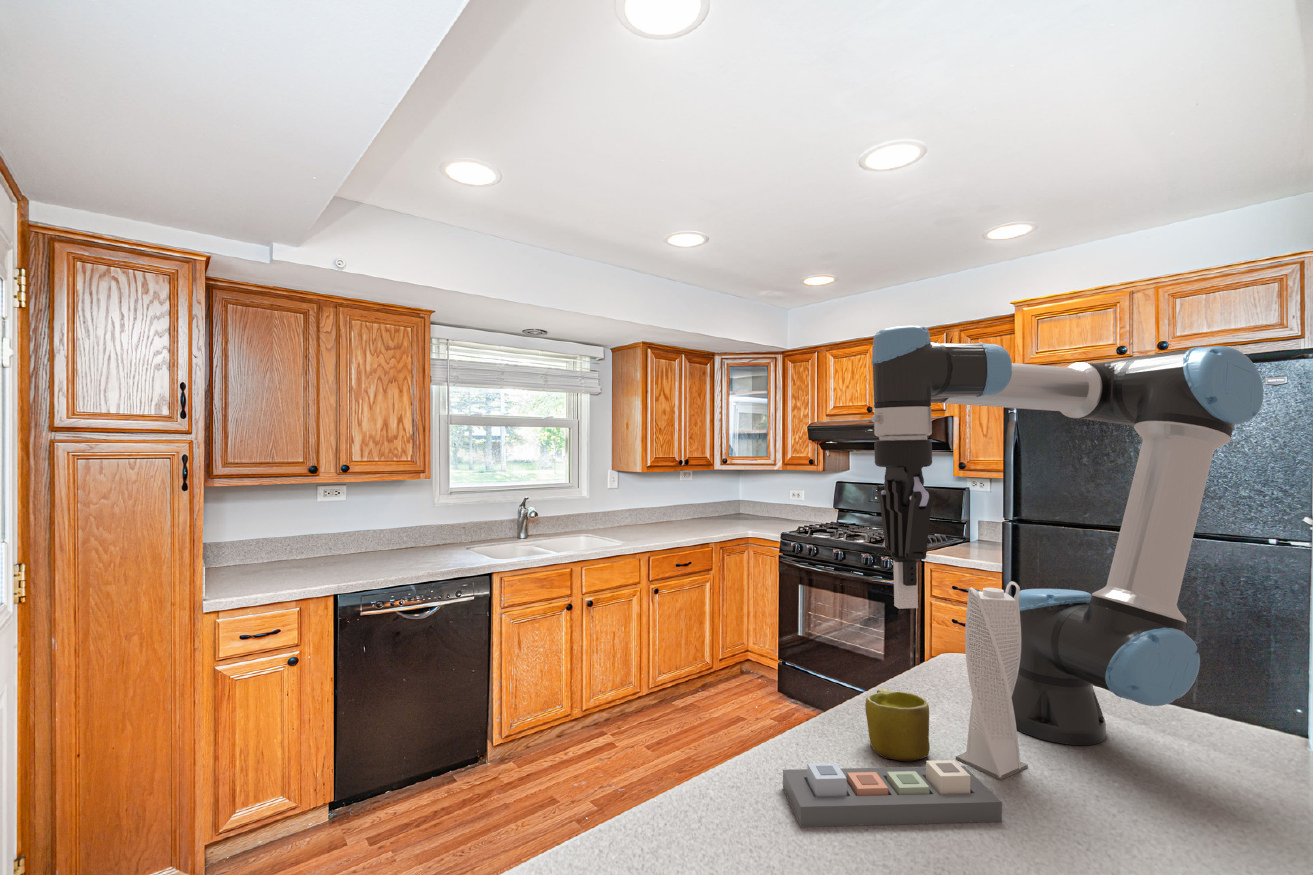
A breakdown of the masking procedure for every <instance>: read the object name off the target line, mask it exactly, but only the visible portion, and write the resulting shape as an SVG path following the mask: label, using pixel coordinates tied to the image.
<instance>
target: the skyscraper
mask: <svg viewBox="0 0 1313 875" xmlns="http://www.w3.org/2000/svg"><path fill="white" fill-rule="evenodd" d="M1011 586H1015V594H1016V595H1015V594H1014V596H1015V599H1014V596H1012V595H1010V594H1009V593H1010V589H1011ZM1020 591H1021V588H1020V586H1019V585H1018V583H1017V582H1015V581H1014V580H1013V581H1009V582H1008V583H1007V585H1006V588H1005V590H1004V589H1002V588H996V587H983V588H982V591H980V590H979V591H977V590H976V589H975V588H974V587H972V586H971V587H969V589H968V594H967V602H966V613H965V614H966V615H965V629H964V631H965V632H964V646H965V647H964V650H965V652H964V653H965V661H966V669H967V675H968V681H969V686H970V691H971V695H972V698H971V699H972V700H971V708H970V714H969V721H968V731H967V732H968V733H967V740H966V741H967V743H966V751H965V752H962V753H960V754H957V755H956V756H955V760H957V761H959V762H961V763H963V764H965V765H967V766H970V767H971V768H974V769H976V770H978V771H980V772H983V773H984V774H987V775H988V776H991V777H993V778H995V779H997V780H998V781H999V780H1000V781H1002V780H1004V779H1006V778H1008V777H1011V776H1012V775H1015V774H1017V773H1019V772H1021V771H1023V770H1025V769H1027V768H1029V766H1028V763H1026V762H1023V761H1021V756H1020V747H1019V740H1018V739H1019V738H1018V737H1019V736H1018V730H1017V729H1016V721H1015V715H1014V709H1013V703H1012V698H1011V697H1012V694H1013V691H1014V688H1015V684H1016V680H1017V676H1018V671H1019V665H1020V657H1021V622H1020V611H1019V592H1020Z"/></svg>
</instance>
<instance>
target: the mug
mask: <svg viewBox="0 0 1313 875" xmlns="http://www.w3.org/2000/svg"><path fill="white" fill-rule="evenodd" d="M864 705H865V716H866V723H867V729H868V730H867V731H868V736H869V741H870V746H871V748H872V749H873V750H874V751H875V753H876V754H877V755H879V756H880V757H882V758H885V759H886V760H894V761H895V760H896V761H899V762H905V761H906V762H907V761H908V762H913V761H916V760H917V761H918V760H923V759H924V758H927V757H928V756H929V754H930V749H931V748H930V739H929V737H930V705H929V702H928V701H927V700H926V699H925V698H924V697H921V696H919V695H918V694H915V693H910V692H905V691H904V692H903V691H891V690H890V689H888V688H879V689H877V690H876V692H874V693H870V694H868V695H867V696H866V699H865V704H864Z"/></svg>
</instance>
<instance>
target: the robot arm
mask: <svg viewBox="0 0 1313 875" xmlns="http://www.w3.org/2000/svg"><path fill="white" fill-rule="evenodd" d="M872 340H873V341H872V342H873V343H872V357H871V358H872V360H871V365H872V387H873V388H872V389H873V390H872V392H873V415H872V416H871V418H870V419H871V421H872V422H873V423H874V425H873V429H874V431H873V432H874V436H876V437H878V440H875V442H874V449H873V450H874V464H875V466H877V467H878V468H885V472H884V482H883V484H880V485H879V484H878V485H877V486H876V492H877V496H878V499H879V506H880V513H881V514H880V515H881V523H882V532H883V539H884V540H883V541H884V548H885V551H886V552H887V553H890V556H891V559H893V563H892V564H893V565H892V566H893V598H894V599H893V602H894V604H893V606H894V608H895V607H896V608H897V609H899V610H901V609H902V610H903V609H918V608H919V602H918V601H919V597H918V596H919V595H918V593H919V591H918V588H919V587H918V562H920V560H926V558H927V552H928V551H927V550H928V542H929V532H930V531H929V530H930V523H931V521H930V520H931V513H932V512H931V511H932V508H933V504H934V500H935V492H934V491H933V490H926V488H925V487H924V485H925V481H924V479H925V478H924V475H923V474H924V473H923V468H924V467H925V468H928V467H930V466H932V465H933V443H932V441H931V440H930V439H928V436H931V435H932V433H933V429H932V428H933V424H932V404H949V405H965V406H976V407H977V406H980V407H981V406H982V407H992V408H993V407H995V408H996V407H997V408H1007V409H1023V410H1024V409H1025V410H1035V411H1036V410H1039V411H1052V412H1053V411H1054V412H1060V413H1061V414H1062V415H1064V416H1065V417H1068V418H1071V419H1083V420H1090V421H1091V420H1092V421H1098V422H1106V423H1111V424H1112V423H1113V424H1118V425H1119V424H1120V425H1127V426H1133V429H1134V430H1135V432H1136V433H1137V434H1138V435H1139V437H1140V438H1142V439H1141V440H1142V442H1141V446H1140V450H1139V455H1138V458H1137V462H1136V467H1135V470H1134V474H1133V478H1132V481H1131V486H1130V491H1129V495H1128V498H1127V502H1126V507H1125V510H1124V515H1123V518H1122V523H1121V526H1120V530H1119V534H1118V538H1117V542H1116V547H1115V550H1114V555H1113V558H1112V563H1111V566H1110V571H1109V573H1108V574H1109V575H1108V577H1107V581H1106V582H1107V583H1106V585H1105V586H1104V587H1103V588H1100V589H1099V590H1096V591H1094V592H1092V593H1090V592H1087V591H1083V590H1078V589H1077V590H1075V589H1065V588H1064V589H1063V588H1062V589H1061V588H1029V589H1028V588H1027V589H1022V590H1021V589H1020V592H1019V611H1020V622H1021V657H1020V665H1019V671H1018V676H1017V680H1016V684H1015V688H1014V691H1013V694H1012V697H1011V698H1012V703H1013V709H1014V715H1015V721H1016V729H1017V731H1019V732H1021V733H1023V734H1025V735H1028V736H1031V737H1034V738H1037V739H1040V740H1042V741H1043V740H1044V741H1047V742H1052V743H1058V744H1064V745H1071V746H1072V745H1074V746H1092V745H1097V744H1099V743H1102V742H1103V741H1105V740H1106V739H1107V738H1106V737H1107V725H1106V720H1105V717H1104V715H1103V711H1102V708H1101V705H1100V702H1099V700H1098V698H1097V695H1096V692H1095V688H1094V685H1095V686H1097V687H1099V688H1102V689H1103V690H1106V691H1108V692H1110V693H1112V694H1114V695H1115V696H1116V697H1118V698H1122V699H1125V700H1128V701H1129V700H1130V701H1133V702H1135V703H1137V704H1140V705H1144V706H1147V707H1148V706H1150V707H1161V706H1166V705H1169V704H1172V703H1173V702H1174V701H1175V700H1178V699H1180V698H1183V696H1184V695H1186V694H1187V692H1188V691H1190V689H1191V687H1192V686H1193V685H1194V683H1195V681H1196V680H1197V678H1198V674H1199V673H1200V672H1199V670H1200V666H1201V658H1200V653H1198V652H1197V651H1198V646H1197V645H1196V643H1195V641H1194V640H1193V639H1192V638H1191V637H1190V636H1188V635H1187V634H1186V633H1185V631H1186V627H1187V618H1186V617H1185V616H1184V615H1183V614H1182V612H1181V611H1180V609H1179V608H1178V601H1179V597H1180V592H1181V589H1182V585H1183V580H1184V576H1185V572H1186V567H1187V563H1188V559H1189V554H1190V550H1191V547H1192V543H1193V538H1194V534H1195V530H1196V526H1197V522H1198V518H1199V514H1200V510H1201V505H1202V502H1203V501H1202V500H1203V497H1204V494H1205V488H1206V485H1207V481H1208V476H1209V472H1210V468H1211V463H1212V460H1213V456H1214V451H1215V450H1217V449H1219V448H1221V447H1223V446H1225V445H1227V444H1230V442H1231V439H1232V435H1233V431H1234V426H1235V425H1242V424H1244V423H1246V422H1250V421H1251V420H1252V419H1253V418H1254V417H1256V416H1257V415H1258V414H1259V413H1260V411H1261V409H1262V406H1263V402H1264V397H1265V396H1264V395H1265V394H1264V384H1263V380H1262V377H1261V374H1260V372H1259V371H1258V369H1257V368H1256V366H1255V363H1254V362H1253V361H1252V360H1251V359H1250V358H1249V357H1248V356H1247V354H1245V353H1243V352H1242V351H1240V350H1239V349H1236V348H1233V347H1231V346H1225V345H1215V346H1195V347H1191V348H1189V349H1188V348H1187V349H1182V350H1181V349H1180V350H1176V351H1169V352H1163V353H1155V354H1147V355H1139V356H1133V357H1132V356H1131V357H1127V358H1126V357H1125V358H1121V359H1116V360H1109V361H1103V362H1102V361H1101V362H1074V363H1071V364H1069V365H1067V366H1052V365H1044V364H1043V365H1041V364H1028V363H1018V362H1017V363H1016V362H1015V363H1014V362H1012V358H1011V355H1010V354H1009V352H1008V351H1007V350H1006V349H1005V348H1004V347H1003V346H1001V345H999V344H994V343H983V342H981V341H980V342H978V343H975V342H974V343H973V342H972V343H971V342H970V343H969V342H968V343H952V342H951V343H940V342H932V339H931V335H930V330H929V329H928V328H927V327H925V326H919V325H902V326H892V327H888V328H884V329H881V330H879V331H877V332H876V333H875V335H874V336H873V339H872ZM1015 595H1016V593H1015V594H1014V596H1013V598H1014V599H1015Z"/></svg>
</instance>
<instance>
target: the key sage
mask: <svg viewBox="0 0 1313 875" xmlns="http://www.w3.org/2000/svg"><path fill="white" fill-rule="evenodd" d="M887 782H888V783H889V784H890V786H891V787H892V788H893V790H894V791H895V792H896V794H897V795H922V794H929V786H928V785H927V784H926V783H925V782H924V780H923V779H922V778H921V777H920V776H919V775H918V774H917V772H916V771H901V772H887Z"/></svg>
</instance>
